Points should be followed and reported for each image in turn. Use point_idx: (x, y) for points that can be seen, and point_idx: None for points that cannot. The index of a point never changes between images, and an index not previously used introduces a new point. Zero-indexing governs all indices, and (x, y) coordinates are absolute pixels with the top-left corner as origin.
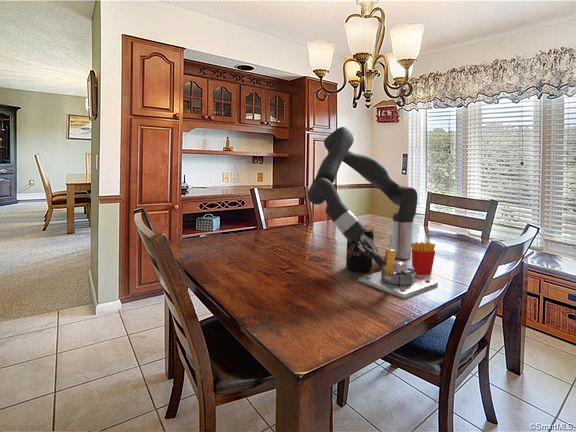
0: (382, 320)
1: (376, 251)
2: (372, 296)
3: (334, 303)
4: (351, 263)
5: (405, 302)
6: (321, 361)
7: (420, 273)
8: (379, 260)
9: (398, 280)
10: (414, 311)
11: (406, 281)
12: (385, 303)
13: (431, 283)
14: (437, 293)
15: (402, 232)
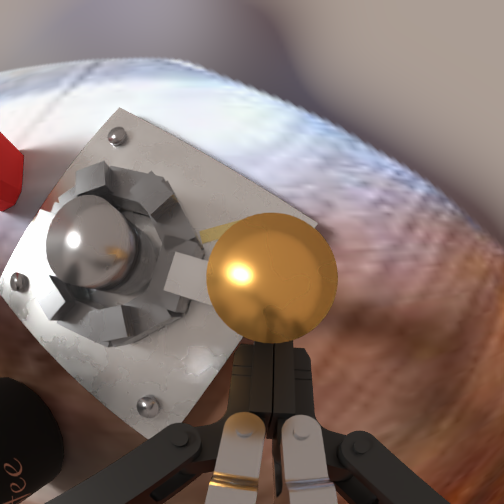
0: (497, 289)
1: (254, 441)
2: (340, 362)
3: (438, 458)
4: (48, 477)
5: (349, 223)
6: None
7: (19, 179)
8: (310, 379)
9: (200, 249)
10: (410, 195)
11: (184, 211)
12: (391, 299)
13: (136, 124)
14: (200, 113)
15: None
